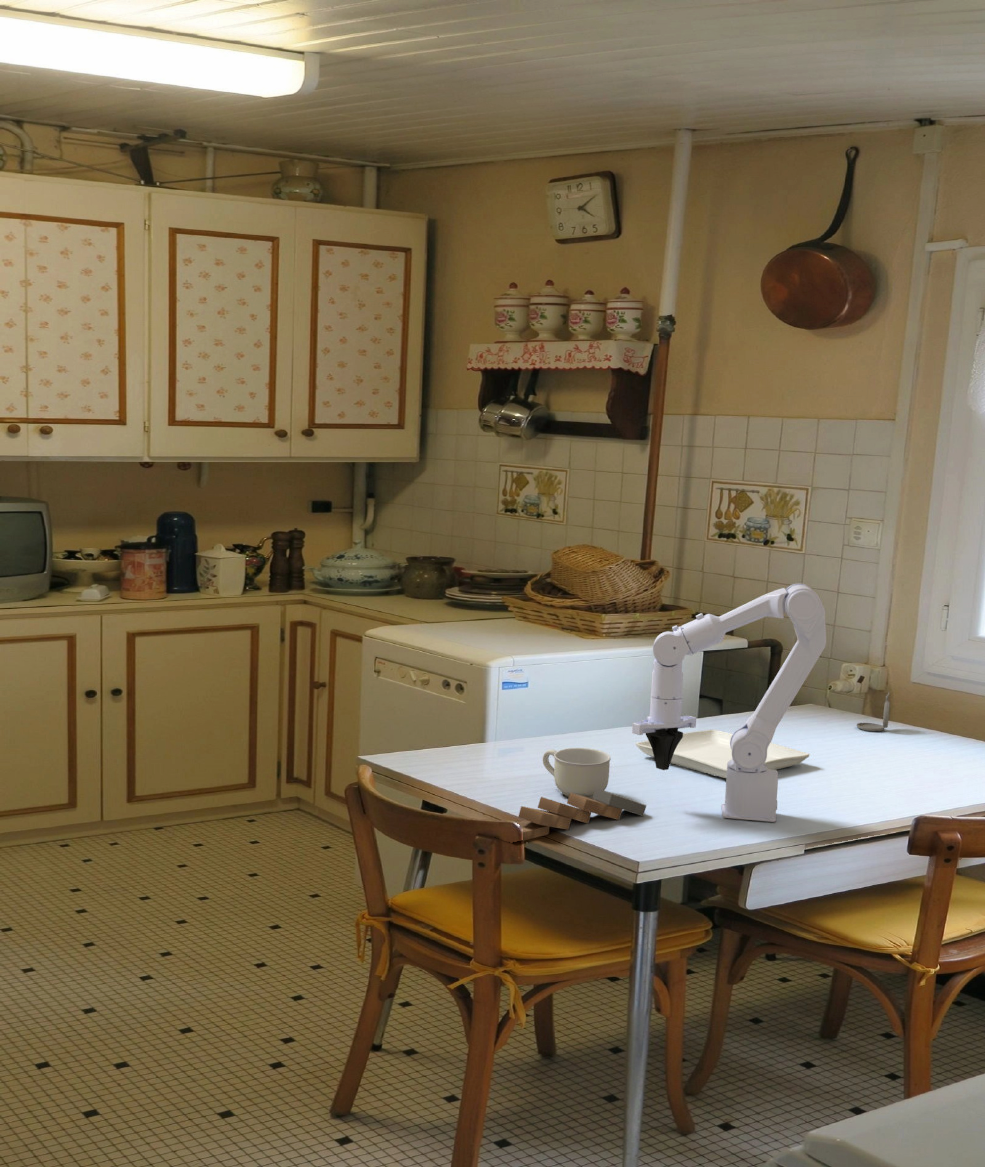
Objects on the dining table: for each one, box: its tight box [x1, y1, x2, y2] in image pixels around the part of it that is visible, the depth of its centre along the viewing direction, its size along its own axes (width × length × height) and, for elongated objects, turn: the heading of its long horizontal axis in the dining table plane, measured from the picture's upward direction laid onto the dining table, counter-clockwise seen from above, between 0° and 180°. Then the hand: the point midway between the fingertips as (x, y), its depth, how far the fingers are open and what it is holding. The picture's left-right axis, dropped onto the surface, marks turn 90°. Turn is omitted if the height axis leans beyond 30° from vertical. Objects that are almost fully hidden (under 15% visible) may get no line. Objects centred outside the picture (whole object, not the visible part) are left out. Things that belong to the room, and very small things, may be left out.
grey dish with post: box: [856, 691, 891, 732], centre depth 314 cm, size 8×8×10 cm
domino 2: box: [516, 820, 550, 842], centre depth 216 cm, size 2×5×9 cm
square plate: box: [635, 729, 811, 779], centre depth 274 cm, size 27×27×4 cm
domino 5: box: [591, 788, 647, 817], centre depth 230 cm, size 2×5×9 cm
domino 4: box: [566, 793, 623, 821], centre depth 227 cm, size 2×5×9 cm
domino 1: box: [517, 806, 572, 830], centre depth 218 cm, size 2×5×9 cm
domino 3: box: [537, 796, 592, 824], centre depth 223 cm, size 2×5×9 cm
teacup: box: [542, 747, 611, 799], centre depth 244 cm, size 14×11×8 cm
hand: (662, 768), depth 236 cm, fingers closed
